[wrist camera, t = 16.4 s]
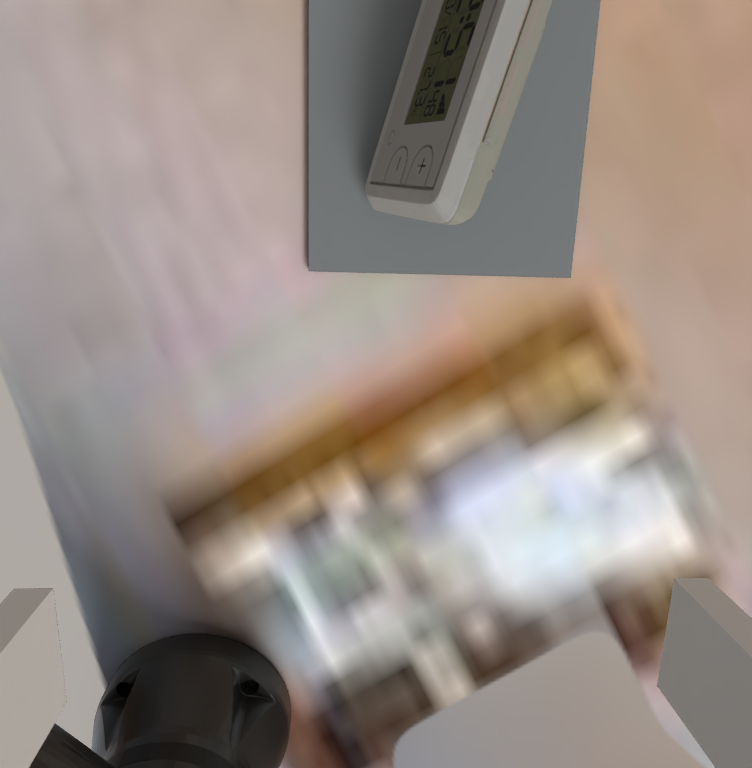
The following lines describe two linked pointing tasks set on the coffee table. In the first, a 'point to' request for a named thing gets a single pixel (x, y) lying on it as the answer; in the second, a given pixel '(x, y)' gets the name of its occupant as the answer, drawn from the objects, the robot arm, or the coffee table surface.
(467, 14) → the digital clock
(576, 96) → the mat
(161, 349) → the coffee table surface
